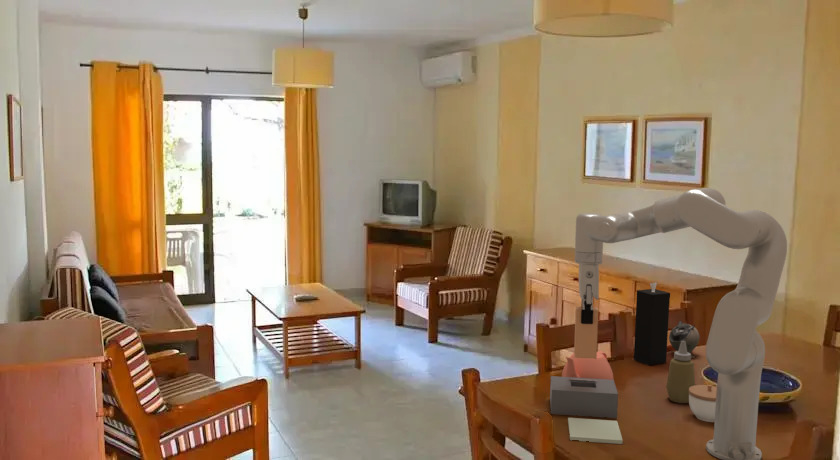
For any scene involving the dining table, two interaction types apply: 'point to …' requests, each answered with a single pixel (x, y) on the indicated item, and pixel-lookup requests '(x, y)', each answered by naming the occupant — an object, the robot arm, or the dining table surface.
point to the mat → (594, 430)
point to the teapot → (588, 367)
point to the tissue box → (651, 326)
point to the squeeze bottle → (680, 375)
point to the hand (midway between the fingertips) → (586, 321)
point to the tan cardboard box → (585, 336)
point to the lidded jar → (703, 401)
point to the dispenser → (583, 397)
